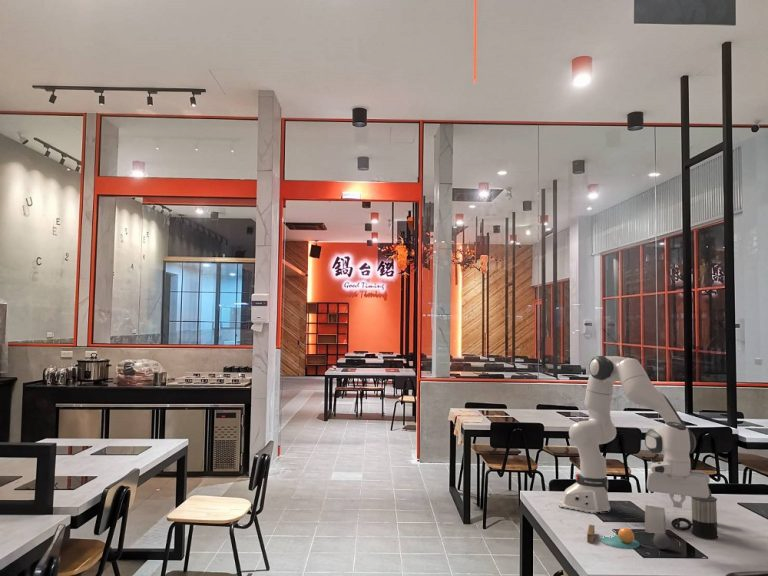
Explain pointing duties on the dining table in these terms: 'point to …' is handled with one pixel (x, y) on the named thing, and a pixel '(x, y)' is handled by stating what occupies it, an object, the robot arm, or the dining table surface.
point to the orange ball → (626, 535)
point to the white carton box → (654, 520)
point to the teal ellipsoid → (619, 542)
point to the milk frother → (701, 518)
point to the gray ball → (661, 540)
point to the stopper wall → (590, 533)
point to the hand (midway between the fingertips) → (677, 507)
